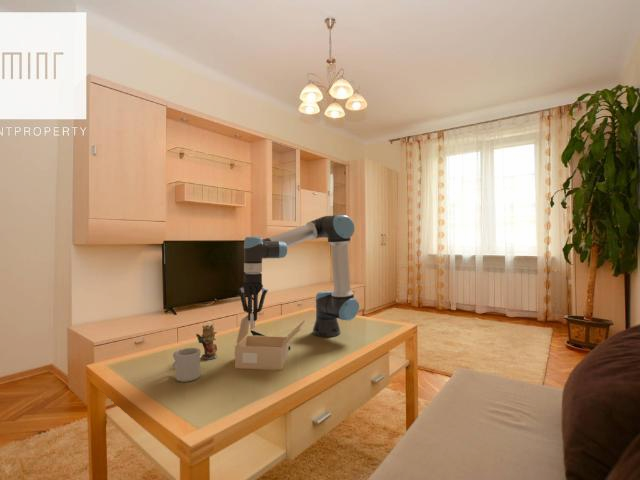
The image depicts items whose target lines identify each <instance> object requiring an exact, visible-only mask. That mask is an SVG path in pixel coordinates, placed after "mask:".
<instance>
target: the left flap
mask: <svg viewBox="0 0 640 480" xmlns="http://www.w3.org/2000/svg"><path fill="white" fill-rule="evenodd" d="M249 328H250V321H249V320H248V314H247V315H246V316H245V317H244V318H242V319H241V321H240V324H239V330H238V334H237V338H236V345H237V344H238V343H239V342H240V341H241V340H242V339H243V338H244V337H245V336H246V335H248V332H249Z"/></svg>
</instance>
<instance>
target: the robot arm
mask: <svg viewBox="0 0 640 480" xmlns="http://www.w3.org/2000/svg"><path fill="white" fill-rule="evenodd" d="M354 233H355V224H354V222H353V220H352V219H351V217H349V216H348V215H345V214H344V215H343V214H337V215H335V214H334V215H324V216H321V217H319V218H318V217H317V218H316V219H314V220H311V221H309V222H307V223H306V224H305V225H302V226H298V227H295V228H293V229H291V230H287V231H284V232H281V233H279V234H275V235H272V236H269V237H267V238H263V237H261V236H246V237H244V242H243V254H244V256H243V257H244V258H243V272H244V274H243V285H242V287H240V288H239V289H237V293H238V294H239V296H240V301H241V305H242V309H243V312H244V313H245V312H246V313H247V315H248V320H249V321H250V325H249V328H250V330H254V329H255V327H256V321H257V320H258V313H260V312H262V310H263V306H264V302H265V298H266V294H267V293H268V292H269V289H267V288H265V287H264V285H263V274H262V272H263V260H264V259H284V258H285V257H287V254H288V248H289V247H291V246H294V245H298V244H299V243H302V242H303V243H304V242H306V241H308V240H316V239H322V238H327V243H328V244H329V245H330V247H331V248H330V249H331V264H332V278H333V279H332V280H333V281H332V282H333V290H327V291H325V290H324V291H318V292H317V293H316V296H315V297H316V298H315V316H316V317H315V321H314V325H313V327H312V333H313V335H315V336H318V337H323V338H331V336H333V337H336V335H337V336H339V335H340V334H341V328H340V325H339V321H338V319H340V320H342V321H348V322H349V321H351V320H353V319H355V318H356V316H357V315H358V313H359V312H360V311H359V310H360V304H359V301H358V300H357V299H356V298H355V296H354V295H355V294H354V292H353V291H352V290H351V276H350V275H351V274H350V262H349V261H350V260H349V257H350V256H349V243H351V238H352V236H353V235H354ZM245 293H246V294H247V299H246V295H245ZM260 293H261V296H260V299H259V294H260ZM258 301H259V302H258ZM338 334H339V335H338Z"/></svg>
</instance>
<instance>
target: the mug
mask: <svg viewBox="0 0 640 480" xmlns="http://www.w3.org/2000/svg"><path fill="white" fill-rule="evenodd" d="M172 357H173V359H174V362H173V363H172V367H173V369H174V370H175V374H174V375H175V376H174V377H175V381H176V380H177V382H182V383H186V382H188V383H189V382H192V381H196V380H198V379H199V378H200V377H201V374H202V373H201V361H200V360H201V349H200V348H198V347H185V348H182V349H178V350H177V351H174V353H173V354H172Z"/></svg>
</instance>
